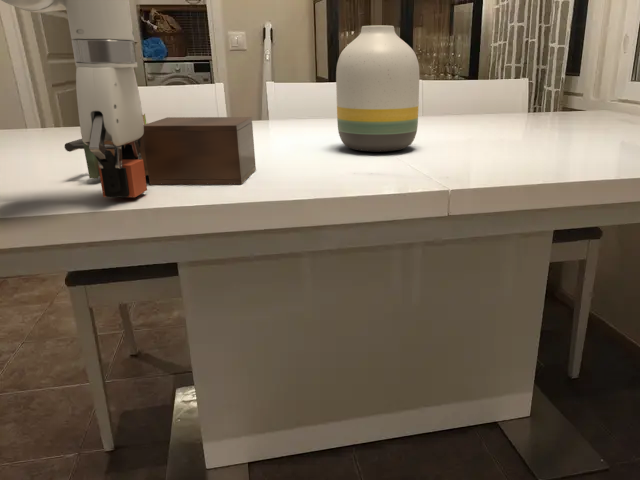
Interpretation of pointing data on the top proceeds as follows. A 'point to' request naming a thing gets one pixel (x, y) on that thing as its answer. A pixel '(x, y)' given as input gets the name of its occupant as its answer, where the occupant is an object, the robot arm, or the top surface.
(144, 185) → the block
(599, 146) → the top surface
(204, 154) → the cabinet
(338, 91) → the vase
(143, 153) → the drawer
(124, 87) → the robot arm
